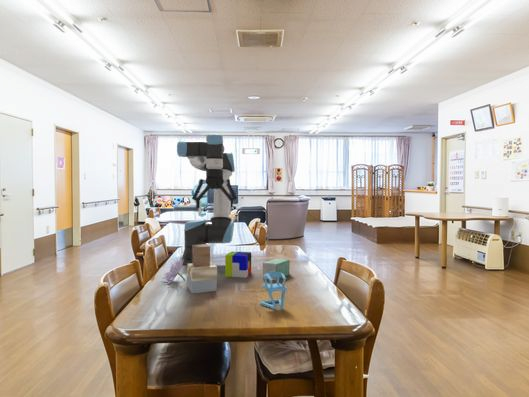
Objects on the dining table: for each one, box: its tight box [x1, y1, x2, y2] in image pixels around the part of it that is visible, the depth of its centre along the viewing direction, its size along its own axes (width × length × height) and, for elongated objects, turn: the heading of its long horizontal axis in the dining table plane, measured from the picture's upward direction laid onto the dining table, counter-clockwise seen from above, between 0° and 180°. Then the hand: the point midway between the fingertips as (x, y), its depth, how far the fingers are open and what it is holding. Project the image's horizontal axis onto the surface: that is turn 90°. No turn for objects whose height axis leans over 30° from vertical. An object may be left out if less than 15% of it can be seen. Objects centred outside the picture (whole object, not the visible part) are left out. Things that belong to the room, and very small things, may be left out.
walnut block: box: [192, 243, 211, 267], centre depth 155 cm, size 6×6×8 cm
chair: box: [259, 271, 288, 311], centre depth 133 cm, size 8×8×12 cm
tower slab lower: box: [186, 275, 218, 294], centre depth 155 cm, size 10×10×5 cm
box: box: [262, 258, 291, 281], centre depth 176 cm, size 7×14×8 cm, turn 150°
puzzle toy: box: [224, 251, 252, 278], centre depth 180 cm, size 10×10×10 cm
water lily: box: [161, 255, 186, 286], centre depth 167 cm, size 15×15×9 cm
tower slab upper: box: [186, 261, 218, 281], centre depth 155 cm, size 10×10×5 cm
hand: (214, 215), depth 172 cm, fingers open, 13 cm apart
